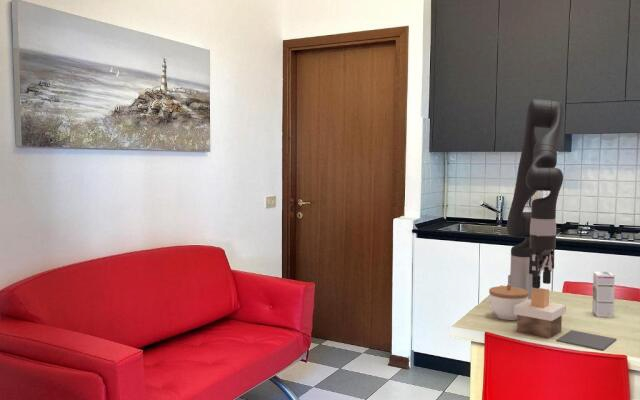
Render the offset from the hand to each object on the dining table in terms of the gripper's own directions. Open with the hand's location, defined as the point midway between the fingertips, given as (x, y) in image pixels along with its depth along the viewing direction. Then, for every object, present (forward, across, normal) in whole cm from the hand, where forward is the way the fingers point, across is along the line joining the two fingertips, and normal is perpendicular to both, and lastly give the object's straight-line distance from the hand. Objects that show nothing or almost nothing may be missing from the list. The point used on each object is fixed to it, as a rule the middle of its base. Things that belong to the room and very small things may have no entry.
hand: (541, 285), depth 186 cm
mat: (+14, 0, +14) cm, 20 cm away
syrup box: (+14, -33, +9) cm, 37 cm away
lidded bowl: (+14, -9, -14) cm, 22 cm away
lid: (+9, 0, 0) cm, 9 cm away
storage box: (+14, 0, 0) cm, 14 cm away
